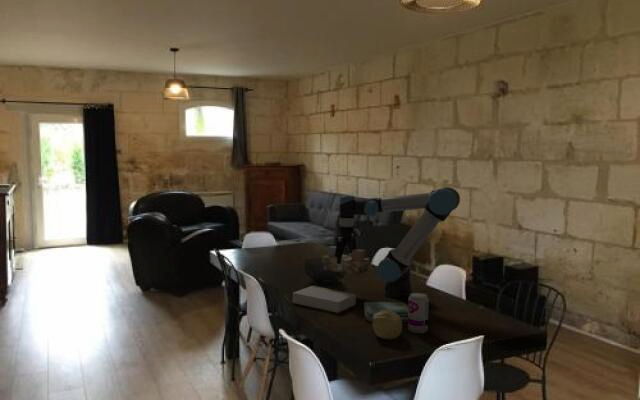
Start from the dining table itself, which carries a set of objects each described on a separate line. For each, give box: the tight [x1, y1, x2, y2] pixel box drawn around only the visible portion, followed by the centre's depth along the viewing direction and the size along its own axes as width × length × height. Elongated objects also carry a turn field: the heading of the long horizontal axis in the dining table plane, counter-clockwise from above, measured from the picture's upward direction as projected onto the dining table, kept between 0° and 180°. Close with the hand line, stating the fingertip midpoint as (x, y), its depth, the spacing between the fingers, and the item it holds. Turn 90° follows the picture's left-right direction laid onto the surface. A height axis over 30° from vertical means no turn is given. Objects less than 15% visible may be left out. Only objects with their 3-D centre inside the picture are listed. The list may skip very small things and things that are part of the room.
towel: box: [363, 301, 408, 323], centre depth 232 cm, size 18×21×5 cm
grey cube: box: [327, 245, 337, 257], centre depth 268 cm, size 5×5×5 cm
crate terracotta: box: [352, 248, 366, 261], centre depth 260 cm, size 5×5×5 cm
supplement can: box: [407, 292, 430, 334], centre depth 213 cm, size 8×8×15 cm
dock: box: [292, 285, 357, 314], centre depth 249 cm, size 26×16×5 cm, turn 56°
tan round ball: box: [372, 310, 403, 340], centre depth 206 cm, size 12×12×11 cm
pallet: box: [321, 254, 371, 276], centre depth 264 cm, size 22×11×6 cm, turn 56°
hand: (345, 268), depth 264 cm, fingers closed on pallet, 11 cm apart
